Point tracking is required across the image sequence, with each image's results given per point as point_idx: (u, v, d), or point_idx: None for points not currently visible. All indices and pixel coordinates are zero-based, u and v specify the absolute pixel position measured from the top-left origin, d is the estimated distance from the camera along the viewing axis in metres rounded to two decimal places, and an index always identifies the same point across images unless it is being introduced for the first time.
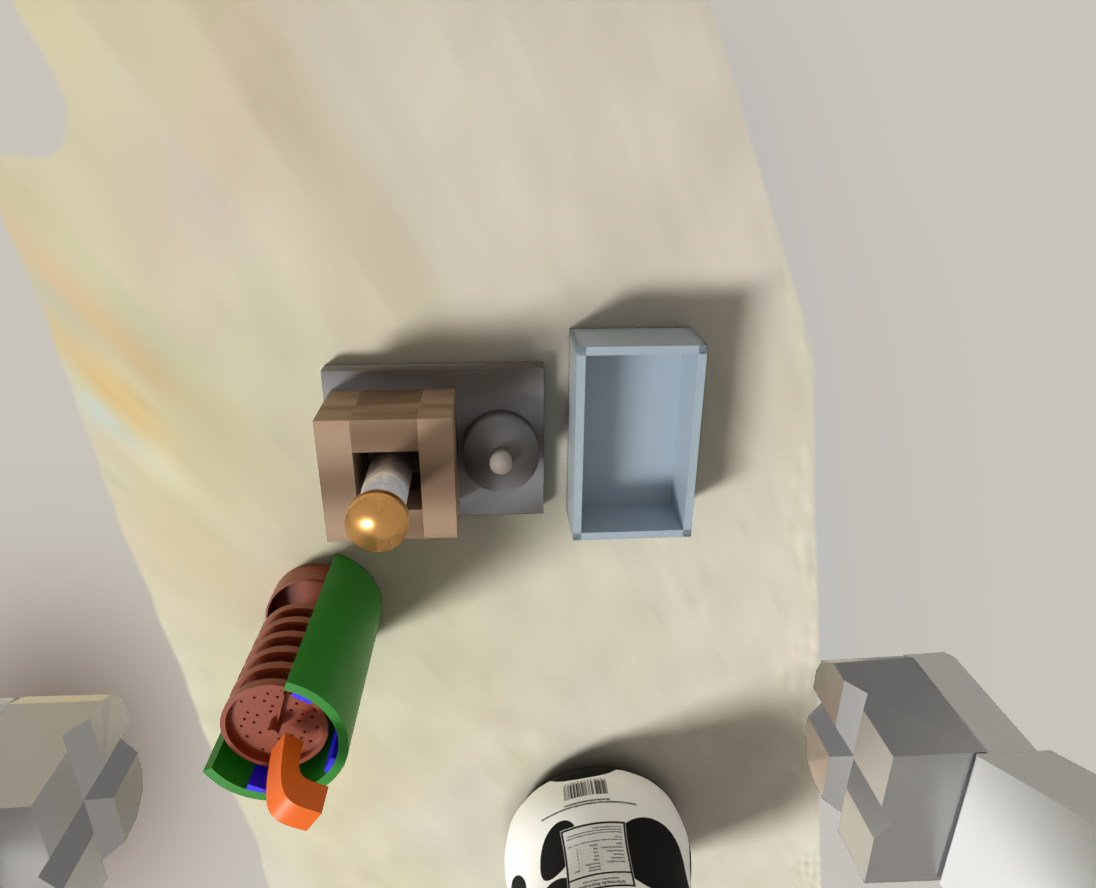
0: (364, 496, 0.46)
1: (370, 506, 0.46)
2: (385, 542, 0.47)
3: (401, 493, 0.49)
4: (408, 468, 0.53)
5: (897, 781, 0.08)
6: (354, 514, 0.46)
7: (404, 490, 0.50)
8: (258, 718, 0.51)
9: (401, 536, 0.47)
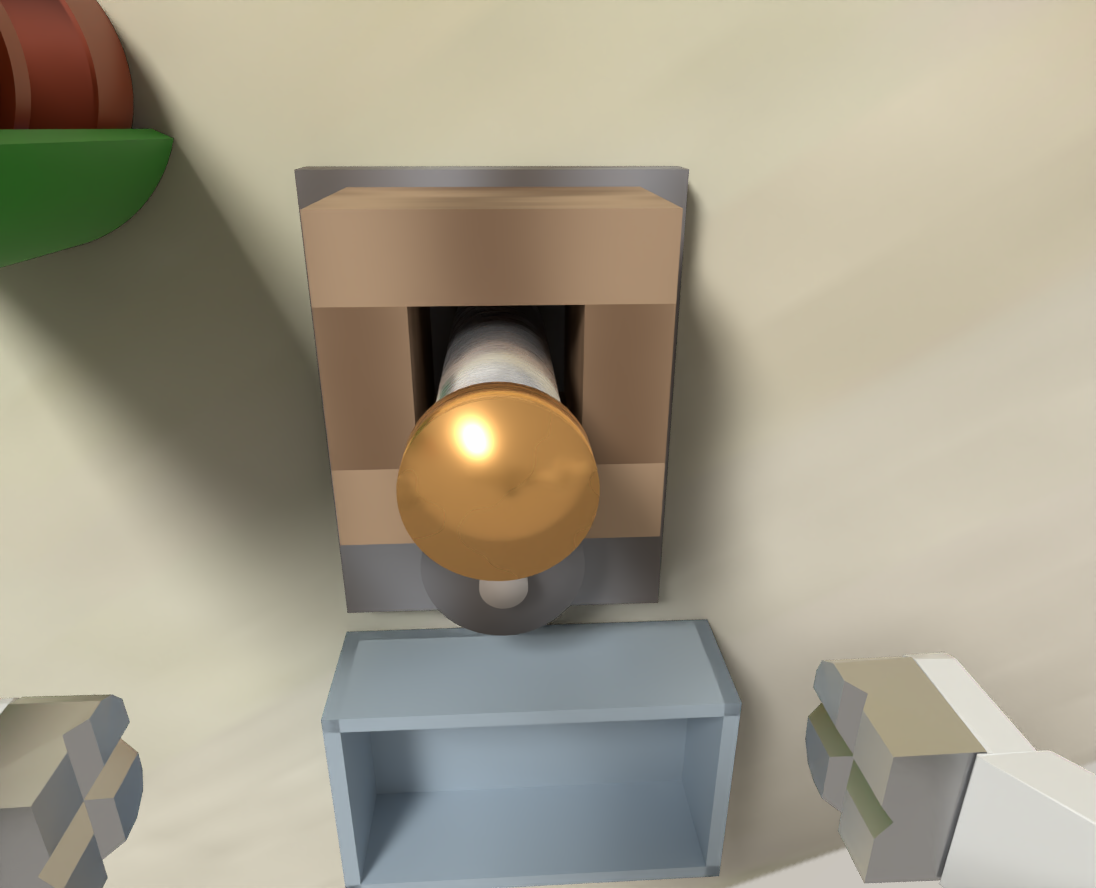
0: (592, 455, 0.15)
1: (566, 481, 0.14)
2: (433, 517, 0.14)
3: None
4: None
5: (897, 781, 0.08)
6: (539, 432, 0.14)
7: None
8: None
9: (456, 562, 0.15)
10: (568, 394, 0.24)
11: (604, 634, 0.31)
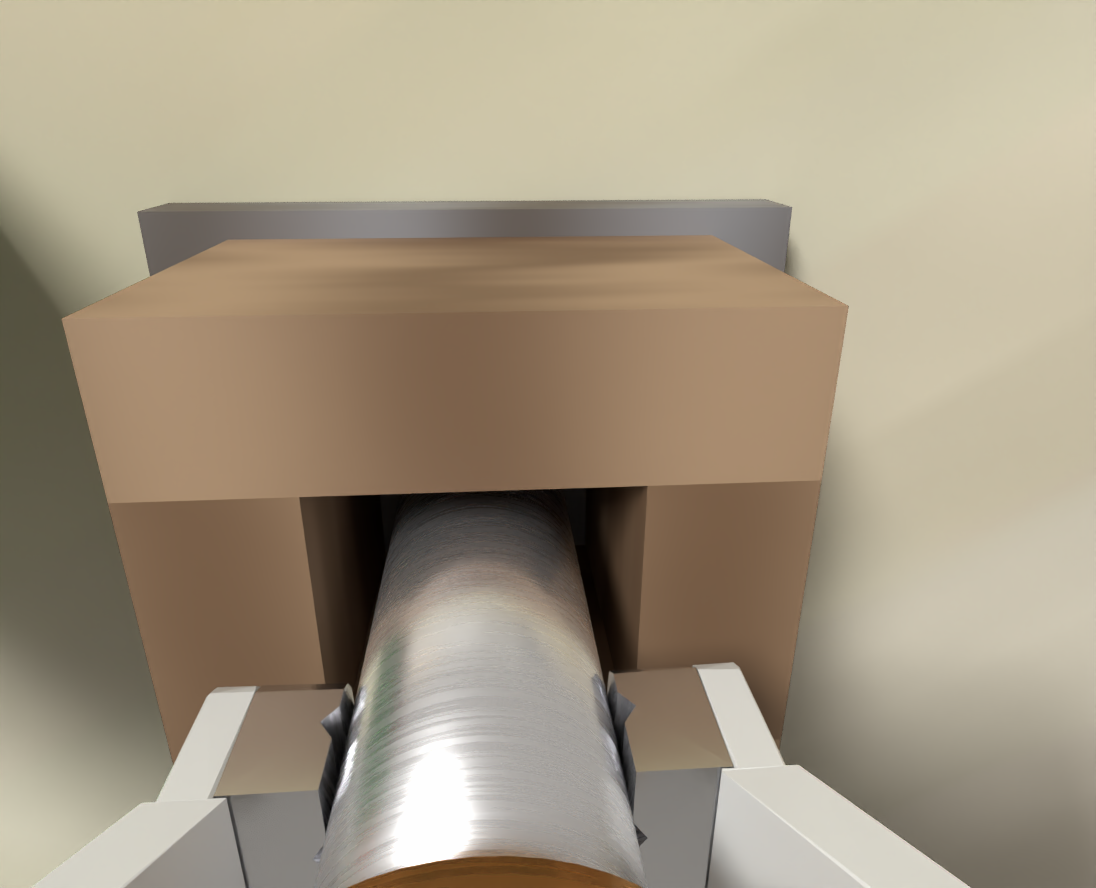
0: None
1: None
2: None
3: None
4: None
5: (645, 796, 0.07)
6: None
7: None
8: None
9: None
10: (596, 567, 0.15)
11: None
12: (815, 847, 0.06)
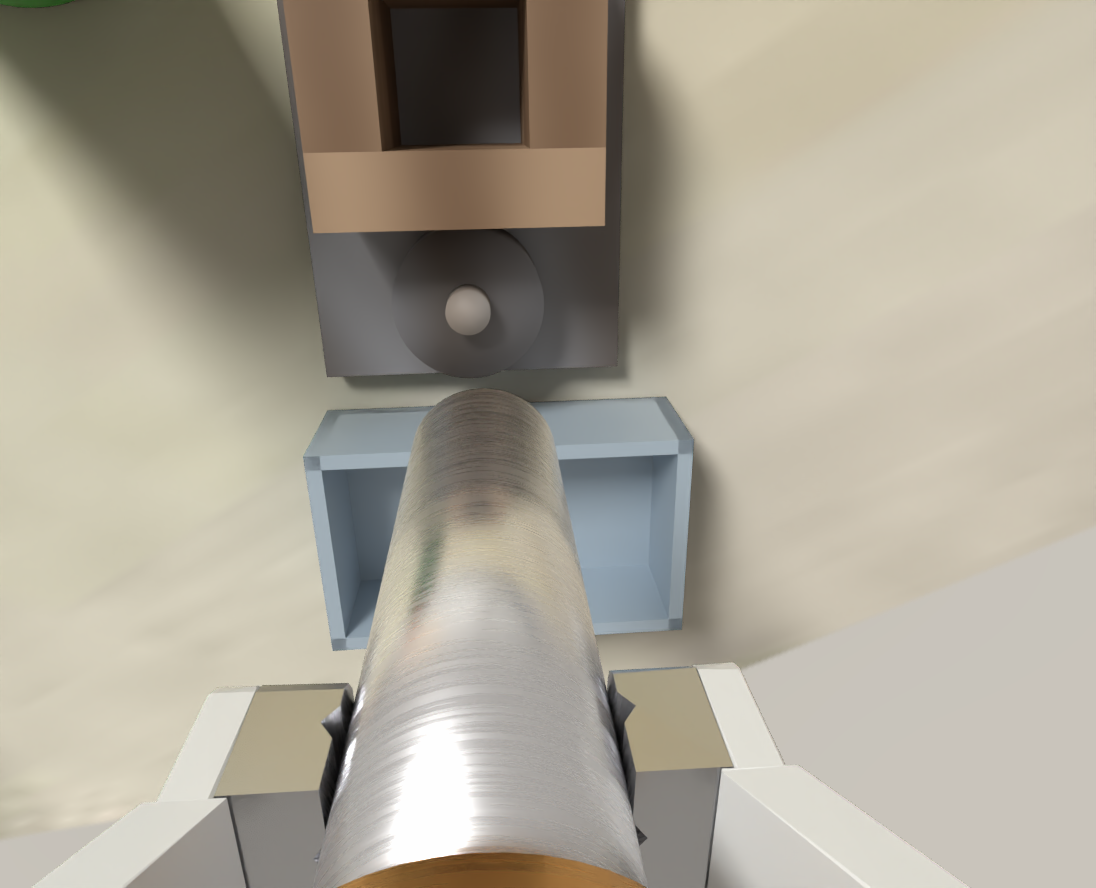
0: None
1: None
2: None
3: None
4: None
5: (645, 796, 0.07)
6: None
7: None
8: None
9: None
10: (522, 127, 0.27)
11: (569, 406, 0.34)
12: (815, 846, 0.06)
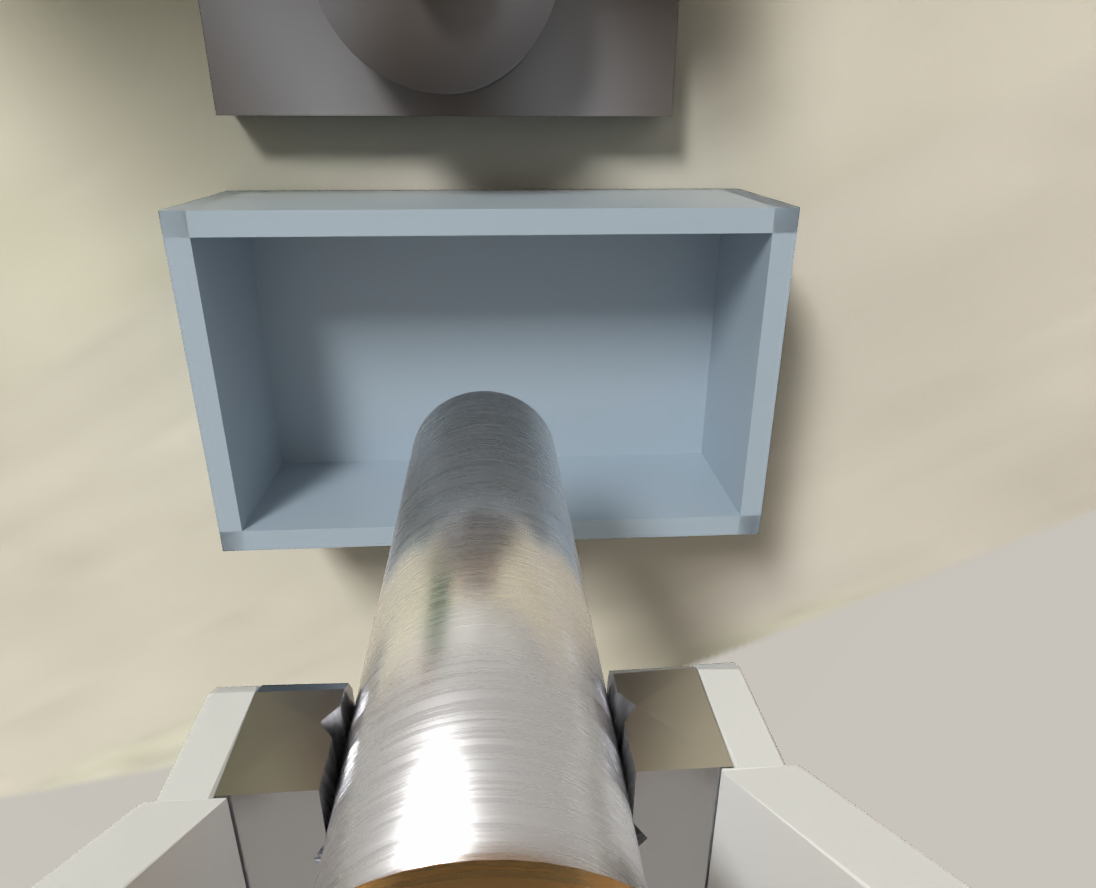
0: None
1: None
2: None
3: None
4: None
5: (645, 796, 0.07)
6: None
7: None
8: None
9: None
10: None
11: (594, 191, 0.22)
12: (815, 847, 0.06)
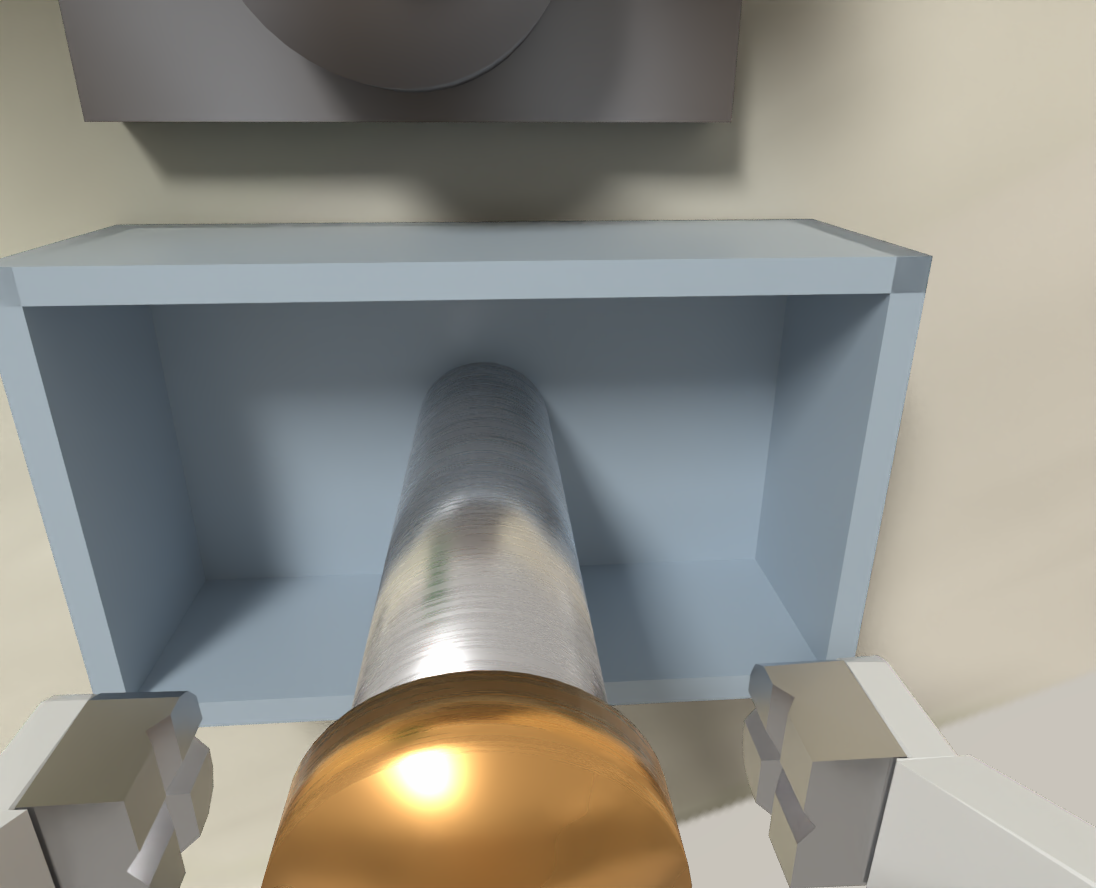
0: (675, 823, 0.07)
1: None
2: None
3: None
4: None
5: (818, 786, 0.08)
6: (566, 809, 0.06)
7: None
8: None
9: None
10: None
11: (620, 225, 0.16)
12: (1011, 834, 0.07)
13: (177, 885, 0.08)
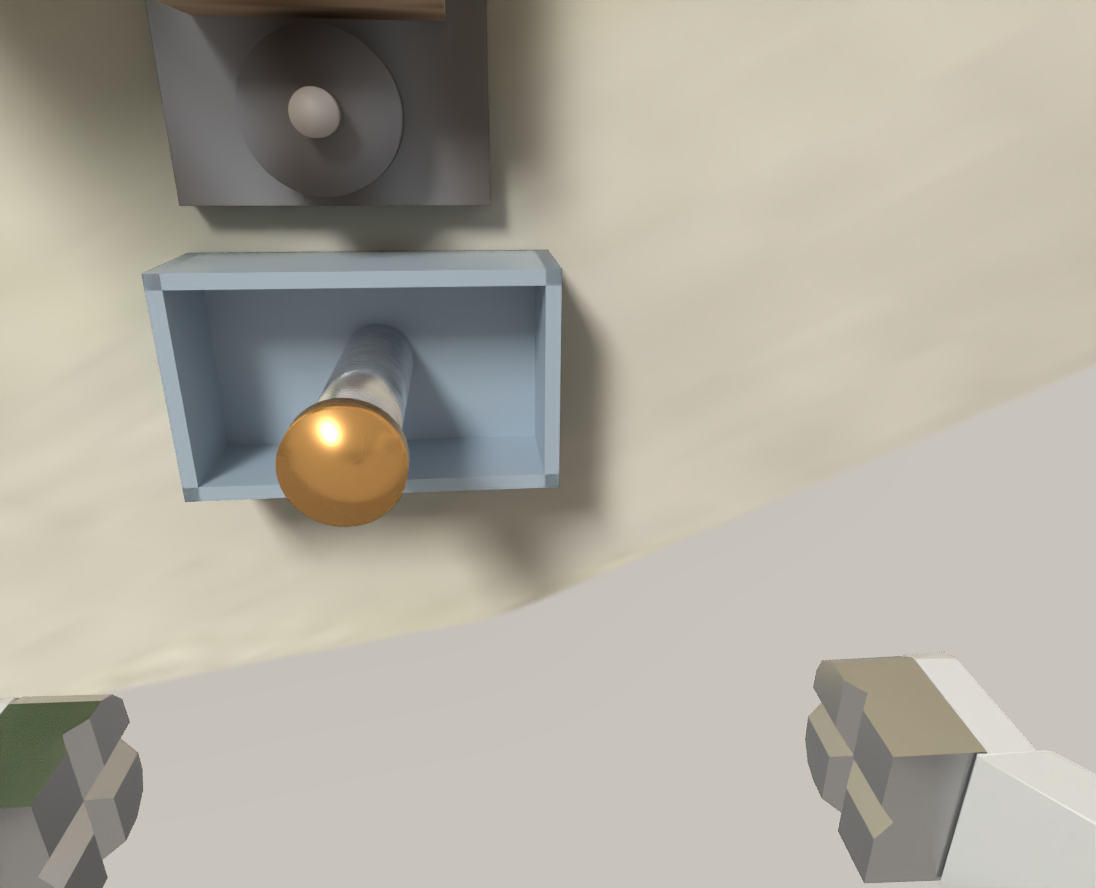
0: (403, 443, 0.23)
1: (385, 460, 0.23)
2: (300, 485, 0.23)
3: None
4: None
5: (897, 781, 0.08)
6: (364, 429, 0.22)
7: None
8: None
9: (317, 514, 0.23)
10: None
11: (444, 253, 0.32)
12: None
13: None
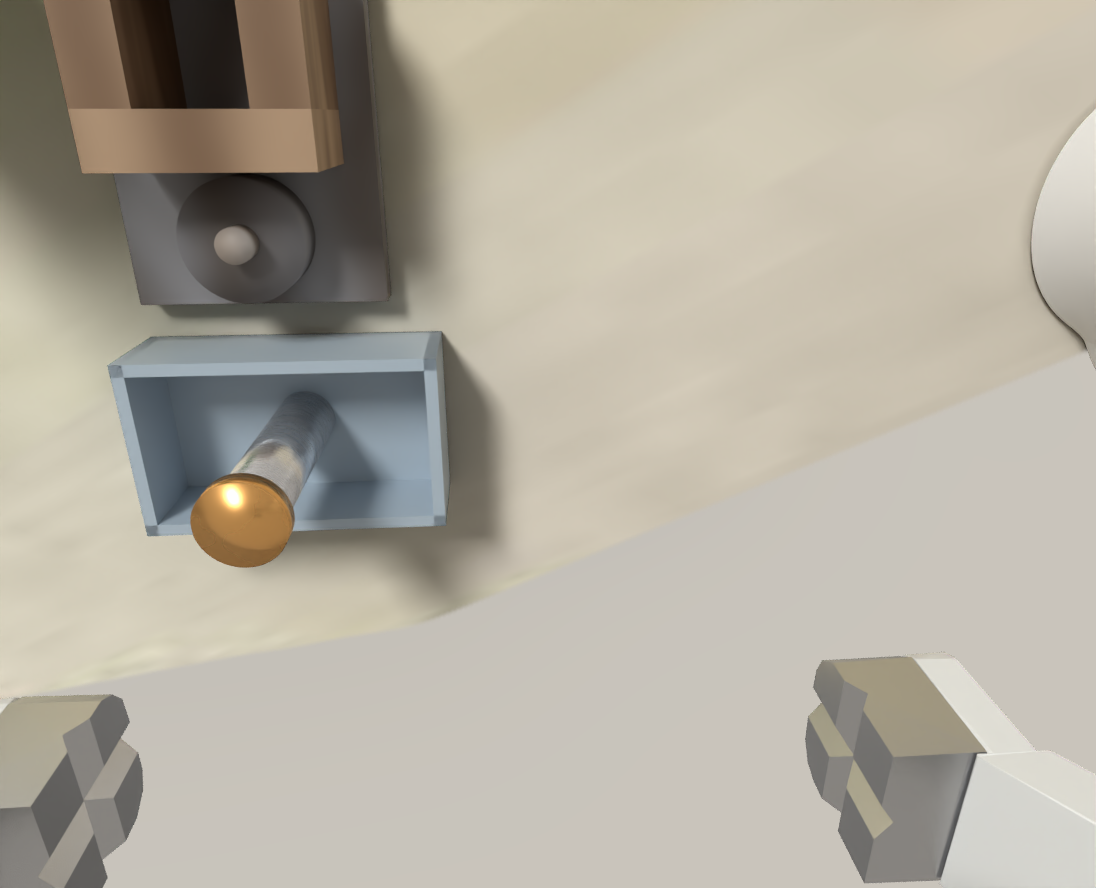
0: (285, 507, 0.31)
1: (271, 520, 0.31)
2: (209, 537, 0.31)
3: None
4: None
5: (897, 781, 0.08)
6: (254, 498, 0.30)
7: None
8: None
9: (223, 558, 0.31)
10: None
11: (354, 336, 0.40)
12: None
13: None
